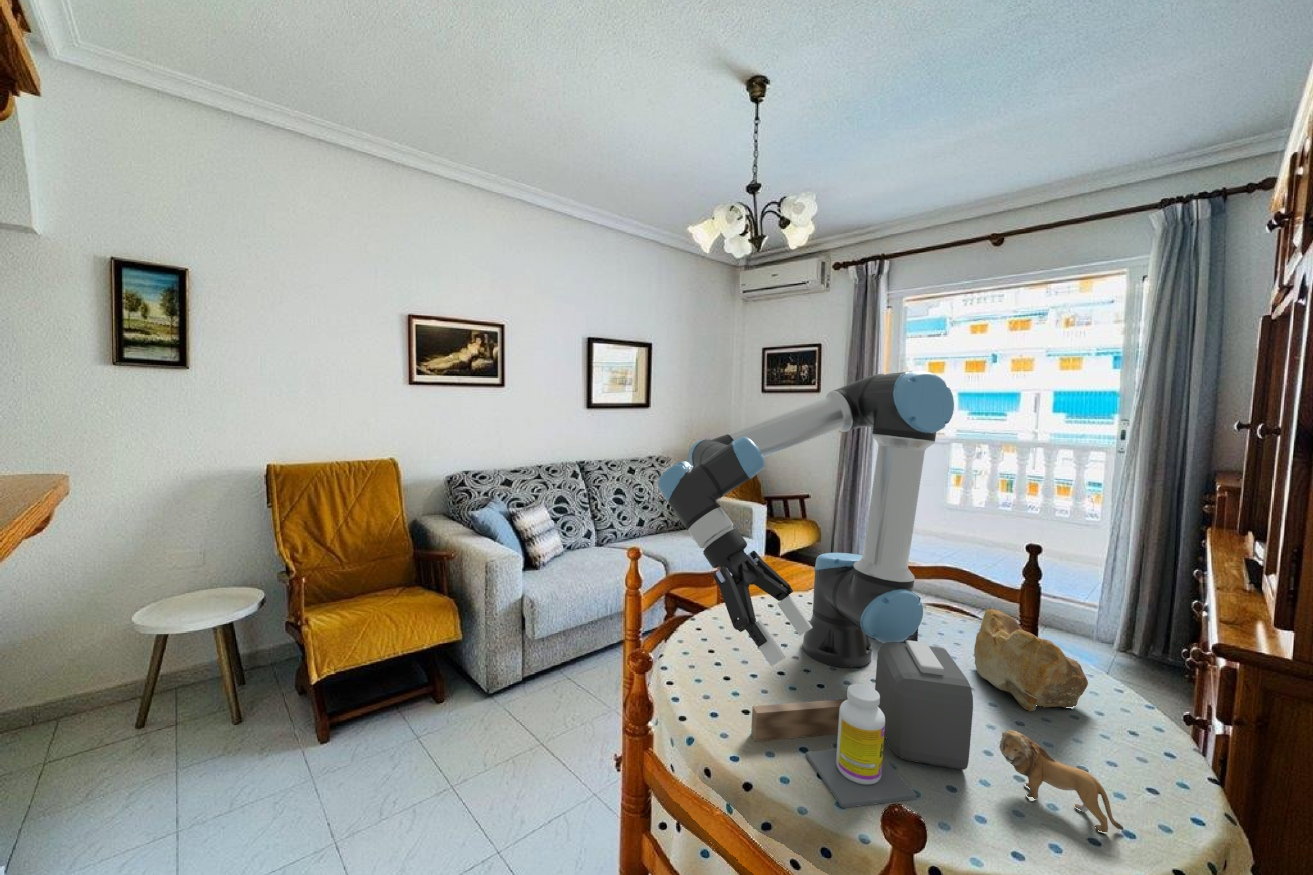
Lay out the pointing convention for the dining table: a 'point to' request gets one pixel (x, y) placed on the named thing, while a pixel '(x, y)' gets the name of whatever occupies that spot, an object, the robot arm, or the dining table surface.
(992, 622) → the rough brown rock
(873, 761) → the supplement bottle
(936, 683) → the alarm clock
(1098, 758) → the dining table surface
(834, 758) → the rubber mat
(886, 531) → the robot arm
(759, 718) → the walnut rail
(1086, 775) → the lion figurine
